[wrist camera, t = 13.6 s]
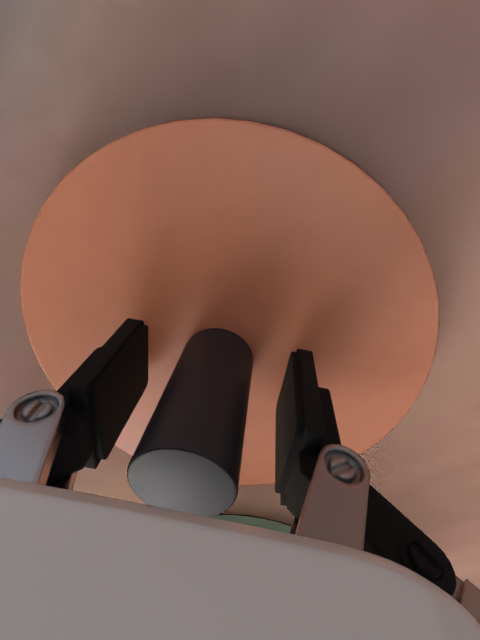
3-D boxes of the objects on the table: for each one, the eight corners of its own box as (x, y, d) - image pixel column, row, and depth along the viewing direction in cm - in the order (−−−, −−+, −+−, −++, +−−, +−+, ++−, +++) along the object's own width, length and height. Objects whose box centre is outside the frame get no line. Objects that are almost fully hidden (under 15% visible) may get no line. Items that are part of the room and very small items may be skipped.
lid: (66, 434, 18) (-39, 574, 12) (0, 82, 10) (-412, -20, 4) (349, 488, 17) (386, 662, 11) (517, 167, 9) (912, 193, 4)
